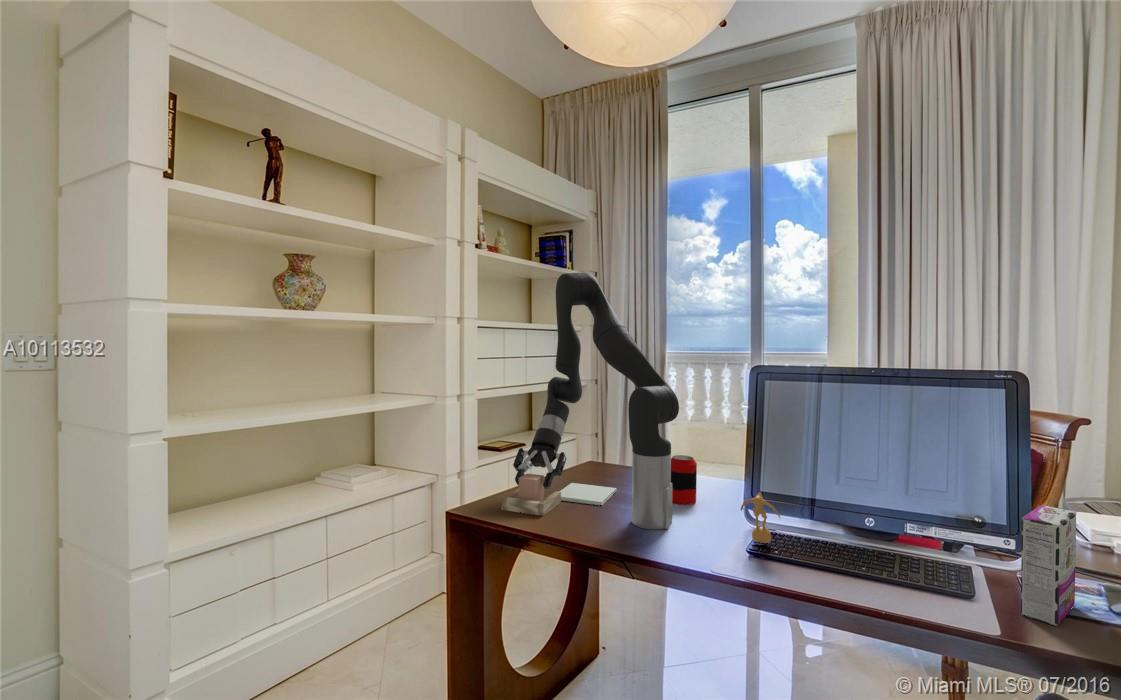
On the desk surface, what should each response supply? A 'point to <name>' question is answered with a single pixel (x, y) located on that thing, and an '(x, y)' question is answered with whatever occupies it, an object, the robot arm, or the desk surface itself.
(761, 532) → the figurine
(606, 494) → the sage mat
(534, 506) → the maple bay
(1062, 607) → the candy bar box
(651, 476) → the robot arm
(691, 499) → the soda can
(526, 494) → the terracotta block
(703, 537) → the desk surface
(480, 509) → the desk surface
